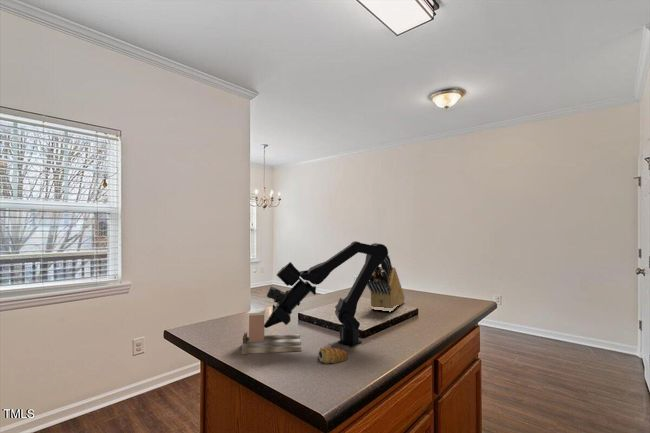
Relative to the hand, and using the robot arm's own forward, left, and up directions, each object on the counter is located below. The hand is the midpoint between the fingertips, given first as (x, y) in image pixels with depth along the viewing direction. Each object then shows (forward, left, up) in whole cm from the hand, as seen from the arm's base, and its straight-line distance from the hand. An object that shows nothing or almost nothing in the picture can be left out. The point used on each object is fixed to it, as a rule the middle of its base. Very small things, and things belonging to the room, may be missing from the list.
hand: (264, 326), depth 113 cm
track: (-2, -2, -7) cm, 8 cm away
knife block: (+3, -75, -7) cm, 76 cm away
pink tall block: (+2, +2, -5) cm, 6 cm away
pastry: (-23, -10, -8) cm, 26 cm away
